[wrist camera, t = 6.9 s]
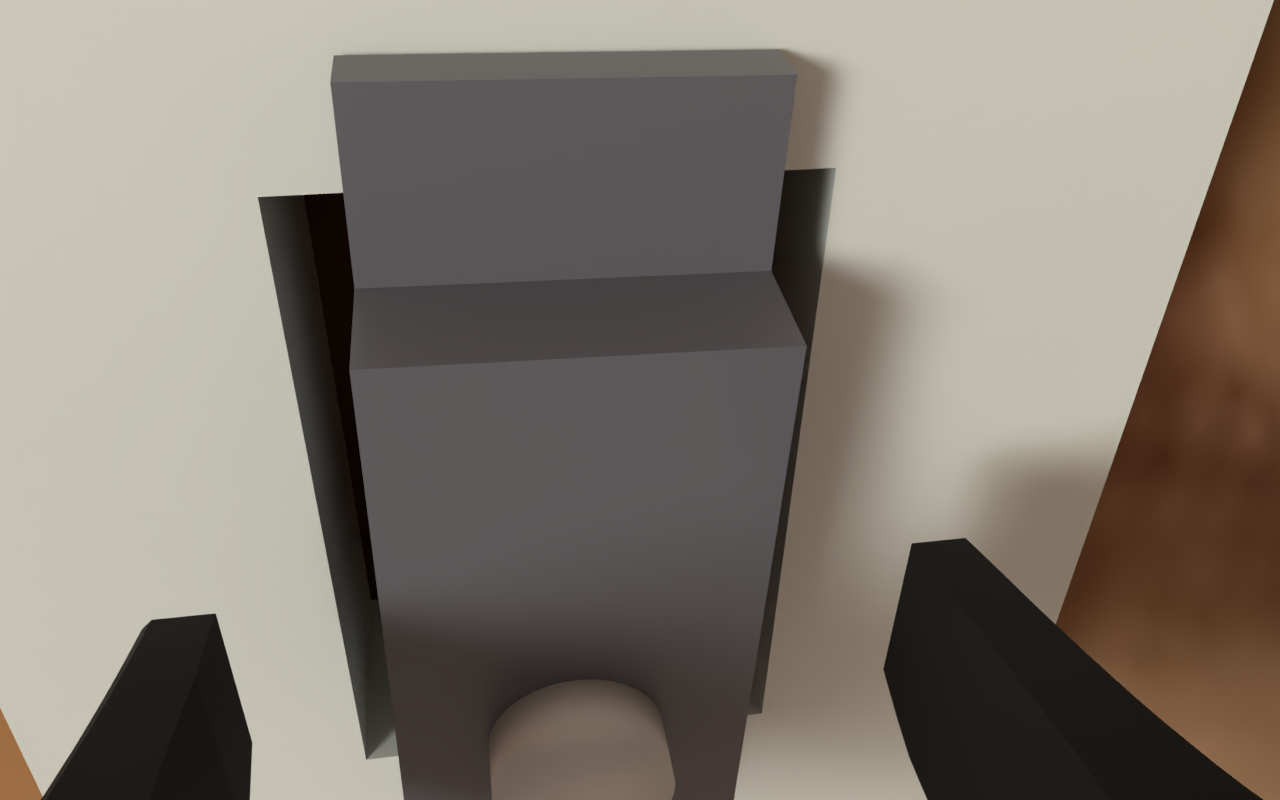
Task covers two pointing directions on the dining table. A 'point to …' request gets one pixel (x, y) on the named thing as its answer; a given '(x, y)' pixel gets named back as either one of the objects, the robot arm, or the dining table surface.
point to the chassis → (802, 266)
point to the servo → (569, 408)
